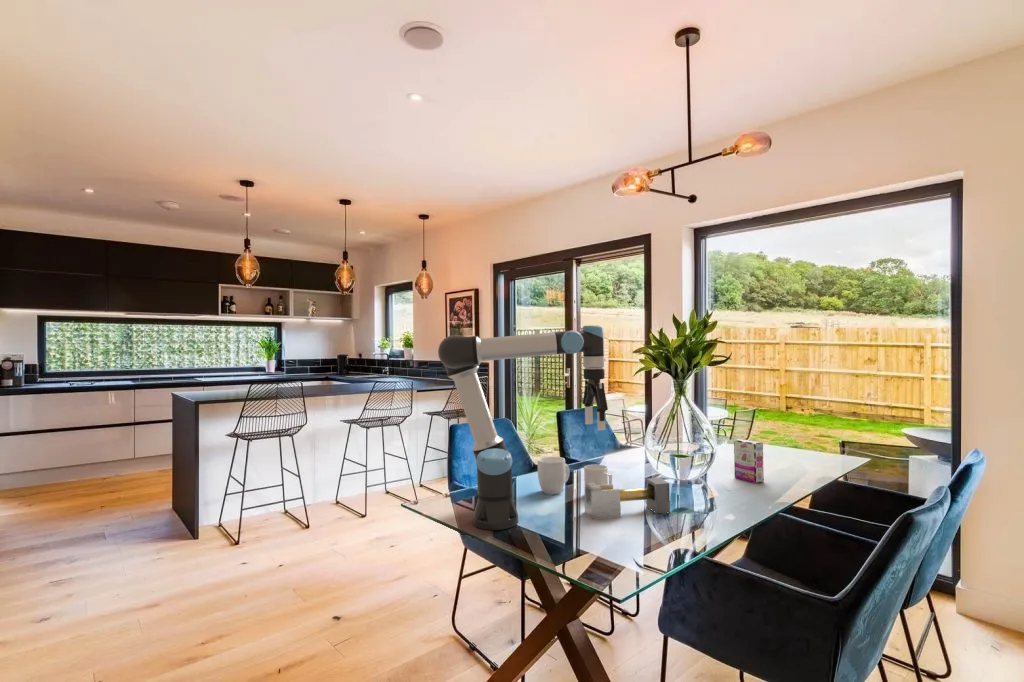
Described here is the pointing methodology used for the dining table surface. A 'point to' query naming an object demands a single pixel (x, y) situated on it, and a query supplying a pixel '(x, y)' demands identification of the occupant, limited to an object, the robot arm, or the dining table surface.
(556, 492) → the mug
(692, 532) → the dining table surface
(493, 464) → the robot arm
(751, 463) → the candy bar box
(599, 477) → the mug
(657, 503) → the socket
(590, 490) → the grey tube holder
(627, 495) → the tube
